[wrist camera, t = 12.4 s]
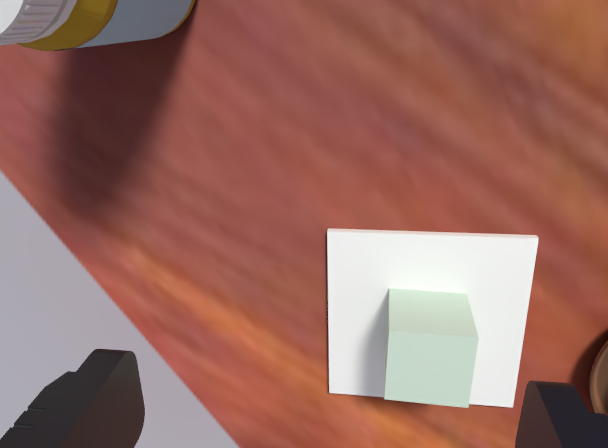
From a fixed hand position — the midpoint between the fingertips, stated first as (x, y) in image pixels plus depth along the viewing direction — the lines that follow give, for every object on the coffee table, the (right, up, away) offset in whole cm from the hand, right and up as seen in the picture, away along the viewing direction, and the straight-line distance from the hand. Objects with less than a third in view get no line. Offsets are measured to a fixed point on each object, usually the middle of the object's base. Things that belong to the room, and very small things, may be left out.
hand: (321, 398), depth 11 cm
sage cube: (+8, -3, +25) cm, 26 cm away
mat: (+8, -3, +25) cm, 26 cm away
